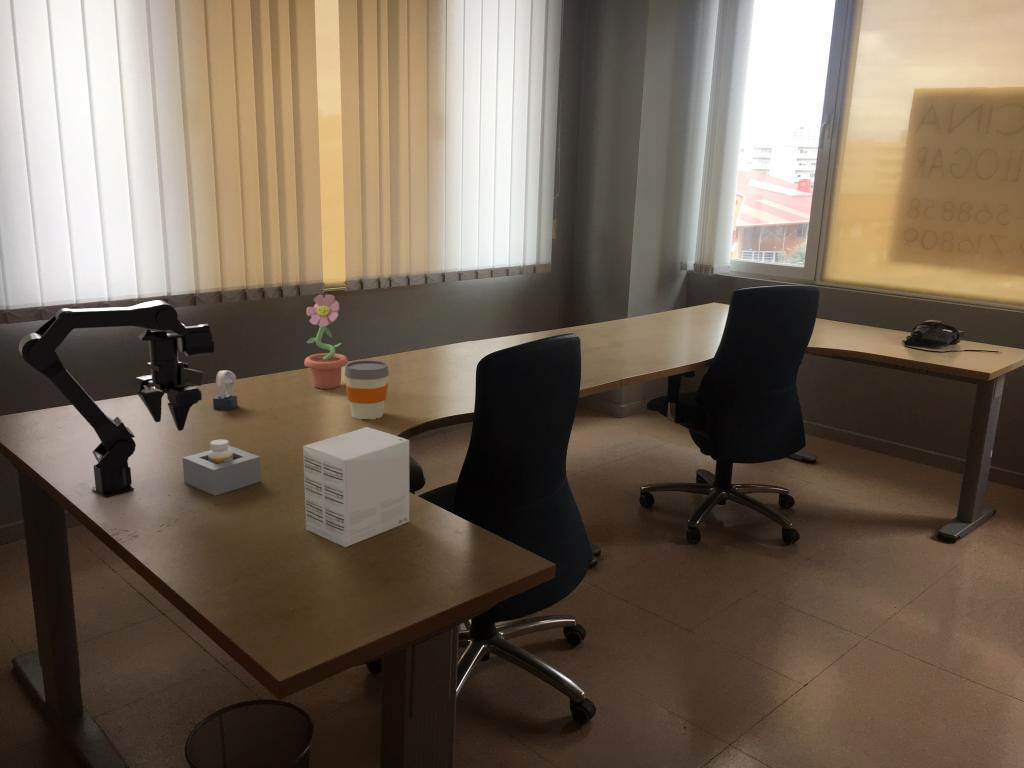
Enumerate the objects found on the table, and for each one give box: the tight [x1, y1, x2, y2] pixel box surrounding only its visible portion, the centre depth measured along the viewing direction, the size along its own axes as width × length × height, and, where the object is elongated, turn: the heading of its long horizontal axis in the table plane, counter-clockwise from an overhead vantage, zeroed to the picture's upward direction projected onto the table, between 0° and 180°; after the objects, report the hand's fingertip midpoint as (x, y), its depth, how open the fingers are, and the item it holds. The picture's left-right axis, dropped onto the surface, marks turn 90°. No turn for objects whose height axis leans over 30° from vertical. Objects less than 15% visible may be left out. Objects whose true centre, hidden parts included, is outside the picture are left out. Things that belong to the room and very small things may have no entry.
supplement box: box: [302, 426, 410, 548], centre depth 177 cm, size 17×13×18 cm
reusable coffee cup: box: [344, 359, 389, 420], centre depth 253 cm, size 13×13×15 cm
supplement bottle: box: [208, 438, 233, 464], centre depth 199 cm, size 5×5×10 cm
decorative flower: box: [304, 293, 349, 390], centre depth 281 cm, size 15×14×30 cm
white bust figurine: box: [212, 369, 238, 410], centre depth 257 cm, size 6×8×11 cm
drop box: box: [182, 445, 262, 497], centre depth 199 cm, size 12×12×6 cm
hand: (169, 426), depth 197 cm, fingers open, 9 cm apart
